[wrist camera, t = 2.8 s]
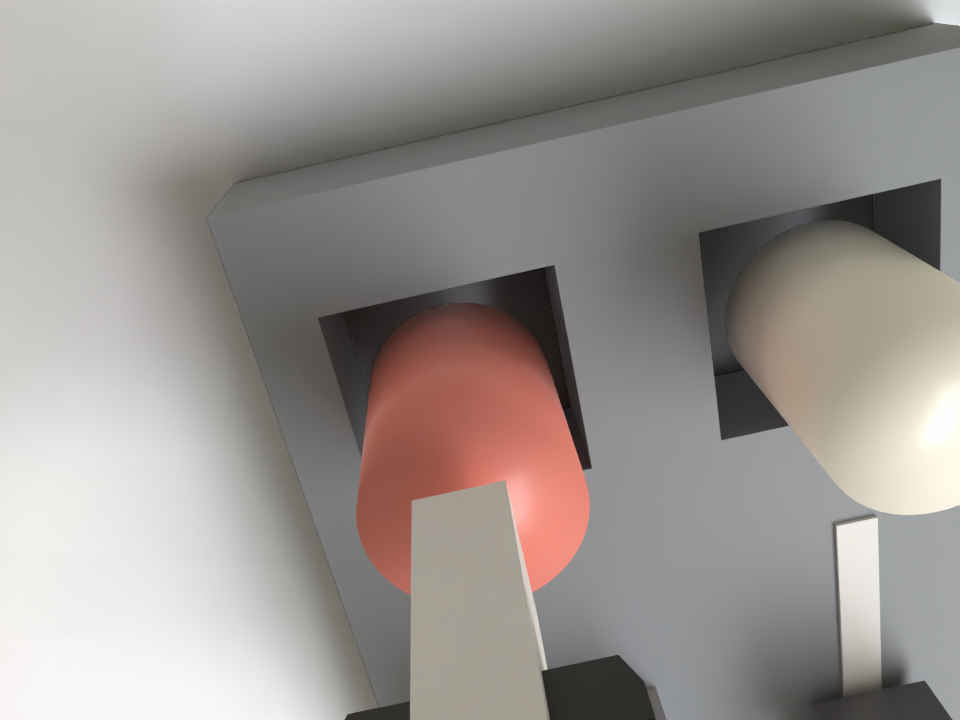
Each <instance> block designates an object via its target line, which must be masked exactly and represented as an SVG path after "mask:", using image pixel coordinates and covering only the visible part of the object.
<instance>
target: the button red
mask: <svg viewBox="0 0 960 720" xmlns="http://www.w3.org/2000/svg"><path fill="white" fill-rule="evenodd" d="M505 480H506V484H507V488H508V492H509V497H510V501H511V505H512V509H513V514H514V518H515V522H516V526H517V531H518V535H519V539H520V543H521V548H522V552H523V556H524V560H525V565H526V569H527V573H528V577H529V582H530V586H531V590H532V592H534V591H536V590H538V589H539V588H541V587H542V586H544V585H545V584H547V583H548V582H550V581H551V580H552V579H553V578H554V577H556V576H557V575H558V574H559V573H560V572H561V571H562V570H563V569H564V568H565V567H566V566H567V565H568V563H569V562H570V561H571V559H572V558H573V556H574V555H575V554H576V552H577V550H578V548H579V546H580V545H581V543H582V541H583V538H584V535H585V532H586V530H587V525H588V520H589V511H590V500H589V491H588V487H587V484H586V480H585V476H584V473H583V470H582V467H581V464H580V461H579V458H578V455H577V452H576V449H575V446H574V443H573V440H572V436H571V433H570V430H569V427H568V424H567V421H566V418H565V415H564V412H563V409H562V406H561V403H560V399H559V396H558V393H557V390H556V387H555V384H554V381H553V378H552V375H551V372H550V369H549V366H548V363H547V359H546V357H545V354H544V352H543V350H542V347H541V346H540V344H539V343H538V341H537V339H536V338H535V337H534V335H533V334H532V333H531V332H530V331H529V330H528V329H527V328H526V327H525V326H524V325H523V324H522V323H521V322H519V321H518V320H517V319H515V318H514V317H512V316H511V315H509V314H507V313H505V312H503V311H501V310H498V309H495V308H493V307H490V306H486V305H481V304H476V303H449V304H443V305H438V306H435V307H431V308H428V309H426V310H423V311H421V312H419V313H417V314H415V315H413V316H412V317H410V318H408V319H407V320H405V321H404V322H403V323H402V324H400V325H399V326H398V327H397V328H396V329H395V330H394V331H393V332H392V333H391V334H390V335H389V336H388V338H387V339H386V340H385V341H384V343H383V344H382V346H381V348H380V350H379V352H378V353H377V356H376V358H375V361H374V364H373V368H372V372H371V380H370V389H369V398H368V407H367V416H366V425H365V434H364V443H363V452H362V461H361V470H360V480H359V489H358V498H357V509H356V519H357V529H358V533H359V537H360V541H361V543H362V545H363V548H364V550H365V552H366V554H367V556H368V557H369V559H370V561H371V562H372V564H373V565H374V566H375V567H376V569H377V570H378V571H379V572H380V573H381V574H382V575H383V576H384V577H385V578H386V579H387V580H388V581H389V582H390V583H392V584H393V585H395V586H396V587H398V588H399V589H400V590H402V591H404V592H406V593H408V594H409V595H411V531H412V501H413V500H417V499H422V498H426V497H431V496H436V495H440V494H445V493H449V492H454V491H459V490H463V489H468V488H472V487H477V486H482V485H486V484H491V483H495V482H500V481H505Z"/></svg>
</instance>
